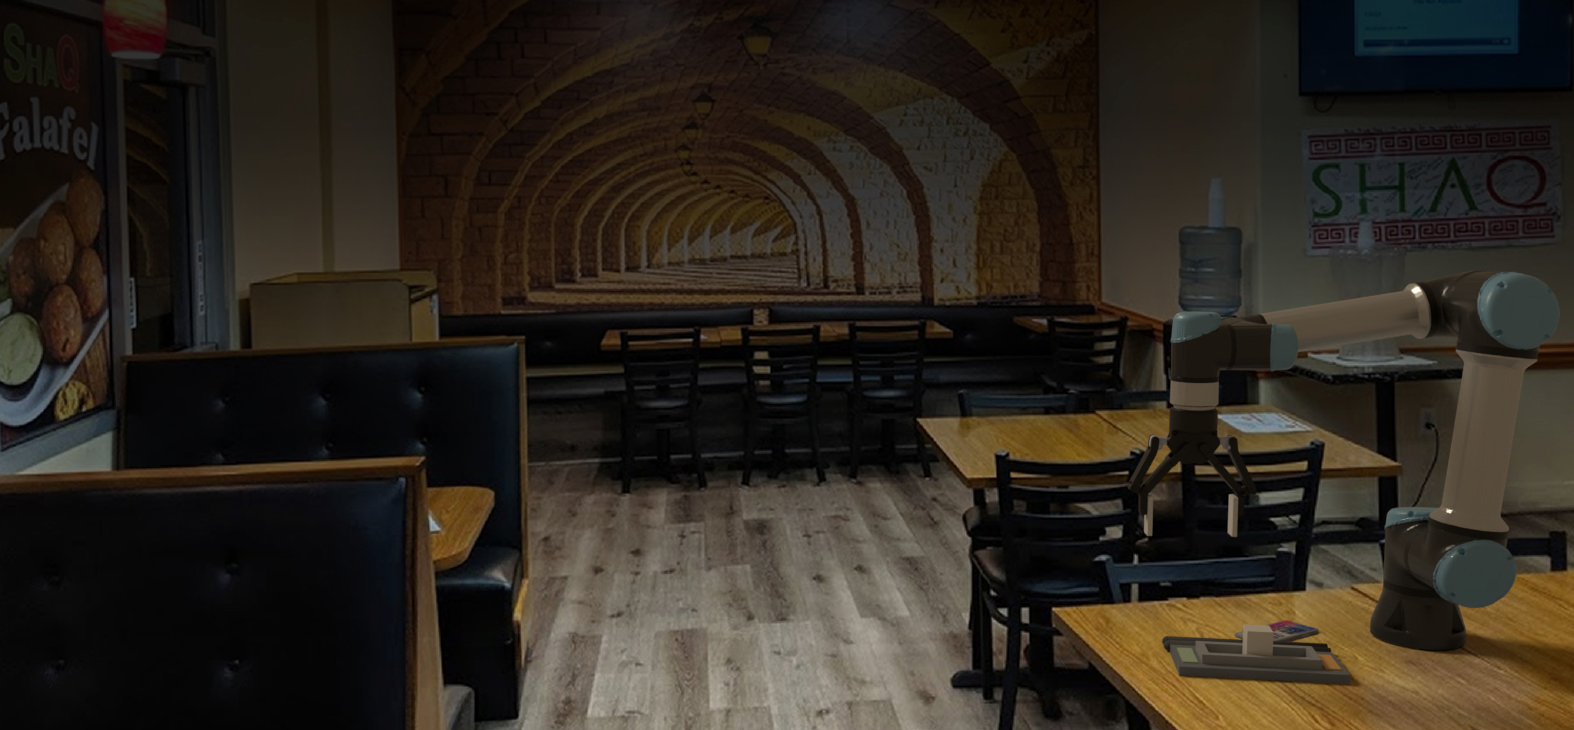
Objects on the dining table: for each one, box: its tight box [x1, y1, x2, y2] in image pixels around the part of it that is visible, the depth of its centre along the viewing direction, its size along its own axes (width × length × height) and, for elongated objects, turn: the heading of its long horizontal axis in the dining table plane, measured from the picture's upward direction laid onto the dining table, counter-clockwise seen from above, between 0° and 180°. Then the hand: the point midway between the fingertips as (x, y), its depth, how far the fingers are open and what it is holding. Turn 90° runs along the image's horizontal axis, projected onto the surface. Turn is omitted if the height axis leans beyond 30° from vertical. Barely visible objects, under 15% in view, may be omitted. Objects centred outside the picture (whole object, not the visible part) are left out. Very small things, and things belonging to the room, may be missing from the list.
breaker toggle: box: [1242, 624, 1273, 656], centre depth 208 cm, size 4×4×5 cm
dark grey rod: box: [1161, 635, 1329, 648], centre depth 217 cm, size 27×2×2 cm, turn 81°
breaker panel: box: [1169, 641, 1351, 685], centre depth 208 cm, size 26×11×3 cm, turn 81°
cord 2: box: [1163, 640, 1332, 652], centre depth 215 cm, size 27×2×2 cm, turn 81°
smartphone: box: [1233, 619, 1319, 642], centre depth 226 cm, size 7×1×15 cm
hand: (1190, 534), depth 209 cm, fingers open, 13 cm apart
